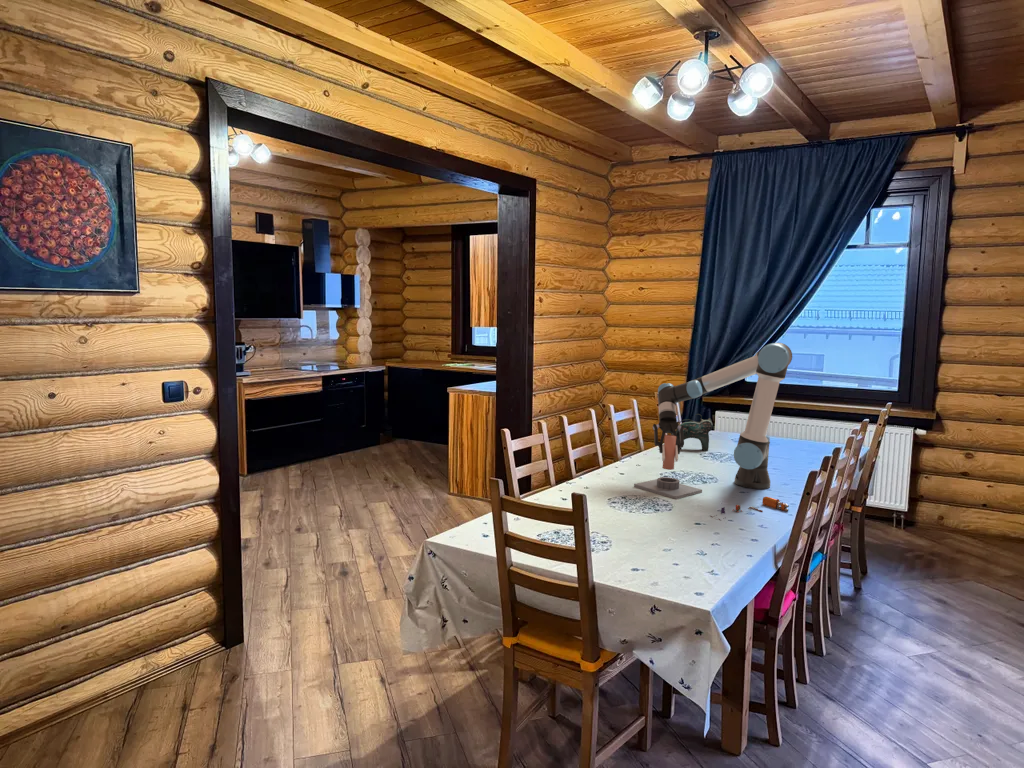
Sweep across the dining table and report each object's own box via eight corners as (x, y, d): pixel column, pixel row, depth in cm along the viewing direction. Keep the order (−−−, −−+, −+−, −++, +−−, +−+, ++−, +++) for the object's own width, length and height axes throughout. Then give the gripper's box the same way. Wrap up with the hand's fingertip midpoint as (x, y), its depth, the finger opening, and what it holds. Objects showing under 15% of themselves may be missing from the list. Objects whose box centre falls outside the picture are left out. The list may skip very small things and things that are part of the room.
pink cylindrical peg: (676, 468, 288) (678, 436, 286) (669, 470, 285) (671, 437, 283) (667, 466, 291) (669, 434, 290) (660, 467, 288) (662, 435, 286)
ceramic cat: (710, 449, 375) (712, 414, 372) (711, 452, 368) (714, 416, 366) (673, 447, 378) (676, 411, 376) (674, 449, 372) (676, 413, 369)
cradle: (702, 492, 286) (702, 482, 286) (676, 499, 275) (676, 489, 274) (660, 480, 303) (660, 471, 302) (634, 486, 291) (634, 477, 291)
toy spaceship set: (789, 512, 264) (790, 502, 263) (730, 526, 245) (731, 514, 244) (765, 505, 273) (766, 494, 272) (707, 517, 254) (707, 506, 253)
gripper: (686, 420, 300) (690, 465, 286) (646, 418, 302) (647, 463, 287) (689, 410, 294) (693, 456, 280) (648, 408, 296) (649, 453, 281)
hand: (670, 459), depth 284 cm, fingers closed on pink cylindrical peg, 5 cm apart
